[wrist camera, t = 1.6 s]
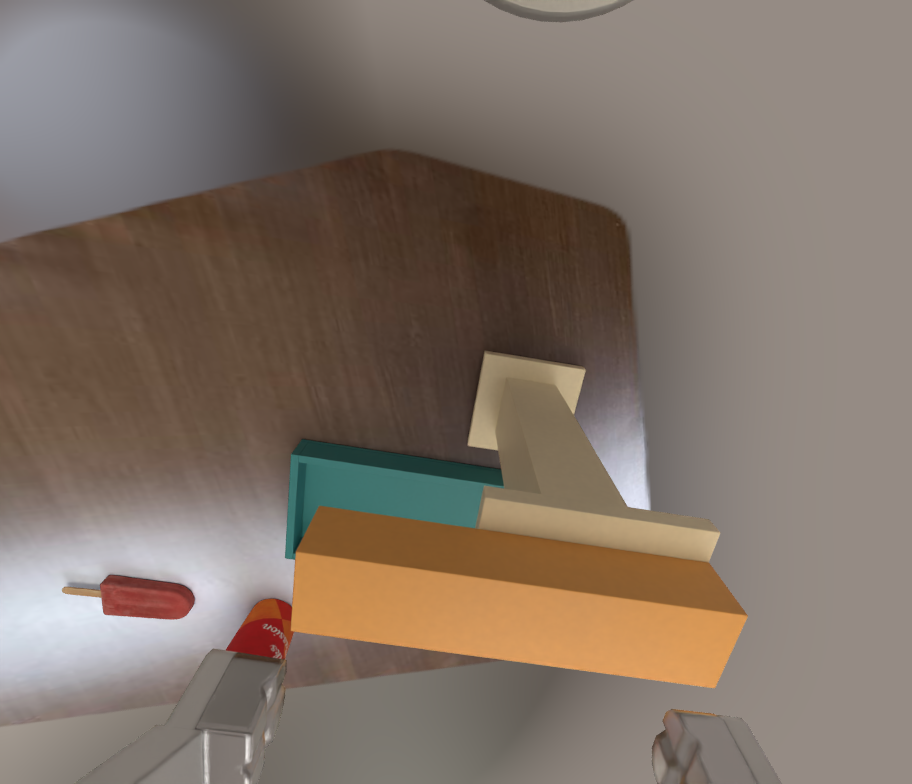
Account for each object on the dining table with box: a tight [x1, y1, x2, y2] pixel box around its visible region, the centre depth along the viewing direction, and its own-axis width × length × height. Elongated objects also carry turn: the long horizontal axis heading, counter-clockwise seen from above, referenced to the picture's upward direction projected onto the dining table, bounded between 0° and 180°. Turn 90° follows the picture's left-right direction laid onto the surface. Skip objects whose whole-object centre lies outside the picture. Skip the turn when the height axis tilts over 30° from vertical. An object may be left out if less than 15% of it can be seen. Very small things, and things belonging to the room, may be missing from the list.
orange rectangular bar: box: [291, 506, 748, 688], centre depth 23 cm, size 20×4×4 cm, turn 81°
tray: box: [285, 439, 504, 560], centre depth 52 cm, size 27×13×4 cm, turn 81°
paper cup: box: [226, 599, 294, 660], centre depth 53 cm, size 8×8×14 cm
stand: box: [468, 351, 720, 562], centre depth 38 cm, size 12×10×26 cm
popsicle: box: [62, 575, 194, 619], centre depth 57 cm, size 4×2×15 cm
